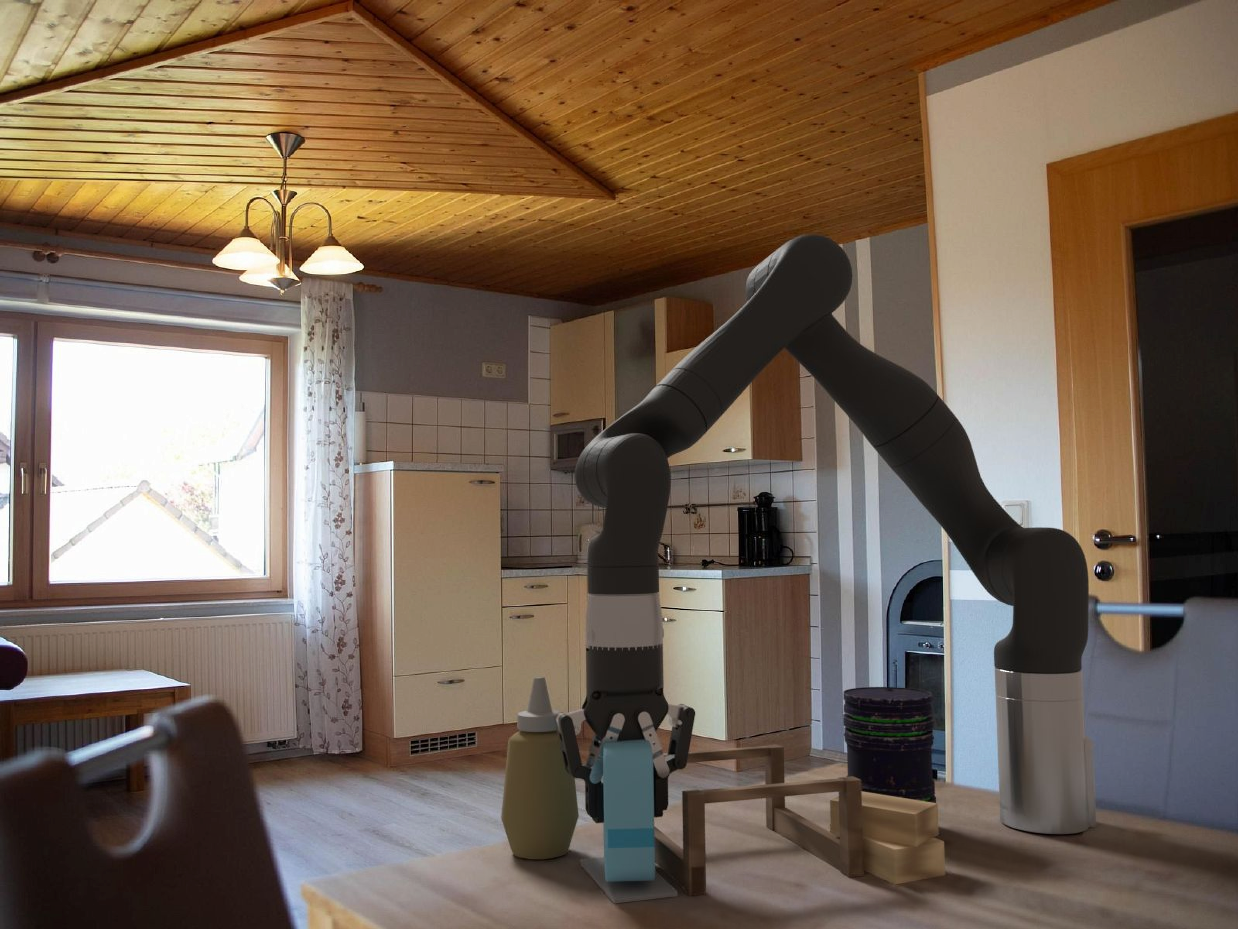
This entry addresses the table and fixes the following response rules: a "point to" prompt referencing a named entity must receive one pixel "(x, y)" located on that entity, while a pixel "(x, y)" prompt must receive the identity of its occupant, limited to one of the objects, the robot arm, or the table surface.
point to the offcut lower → (903, 859)
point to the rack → (827, 846)
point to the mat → (627, 884)
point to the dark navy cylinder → (890, 741)
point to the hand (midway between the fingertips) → (627, 817)
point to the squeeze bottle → (538, 784)
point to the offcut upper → (893, 819)
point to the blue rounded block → (628, 811)
